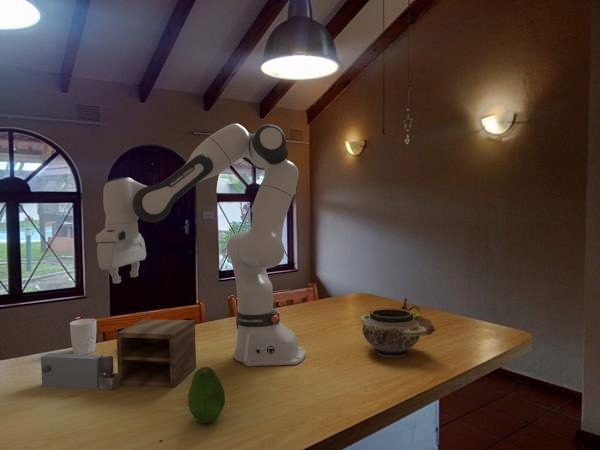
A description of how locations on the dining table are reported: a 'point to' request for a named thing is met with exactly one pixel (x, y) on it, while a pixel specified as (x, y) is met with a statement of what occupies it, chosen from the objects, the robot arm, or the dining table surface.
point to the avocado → (206, 395)
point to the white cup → (83, 336)
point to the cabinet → (153, 354)
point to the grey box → (75, 370)
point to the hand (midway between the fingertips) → (126, 279)
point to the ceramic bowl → (391, 331)
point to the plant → (419, 318)
